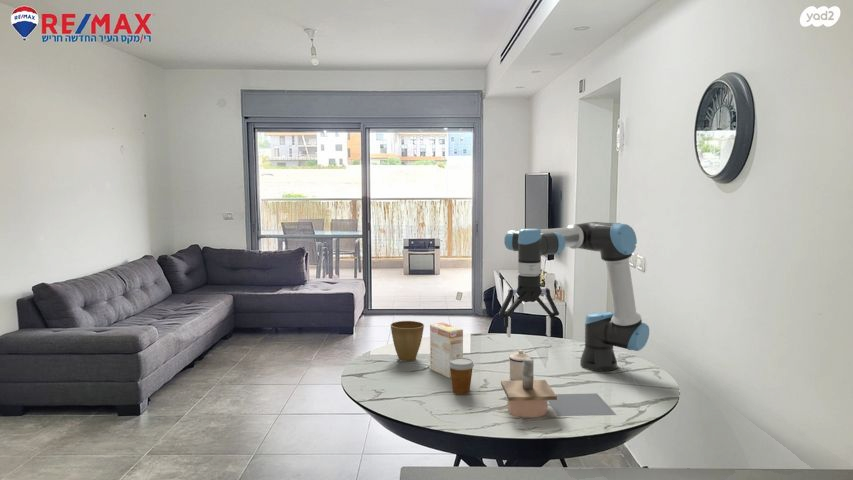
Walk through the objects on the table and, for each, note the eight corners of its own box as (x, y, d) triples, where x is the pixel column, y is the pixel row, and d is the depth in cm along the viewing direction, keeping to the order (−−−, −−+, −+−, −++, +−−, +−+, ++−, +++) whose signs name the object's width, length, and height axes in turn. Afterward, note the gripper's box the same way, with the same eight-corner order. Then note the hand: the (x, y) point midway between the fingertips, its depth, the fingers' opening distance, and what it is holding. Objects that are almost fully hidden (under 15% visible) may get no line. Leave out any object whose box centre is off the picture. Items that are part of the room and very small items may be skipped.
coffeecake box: (463, 375, 240) (463, 329, 238) (449, 379, 236) (449, 331, 234) (443, 366, 252) (443, 321, 250) (429, 369, 248) (429, 324, 247)
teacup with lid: (535, 381, 232) (536, 352, 231) (514, 383, 230) (514, 354, 229) (523, 371, 244) (523, 344, 243) (503, 373, 242) (503, 346, 241)
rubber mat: (596, 394, 217) (596, 393, 217) (616, 416, 197) (616, 414, 197) (543, 396, 216) (543, 394, 216) (557, 417, 197) (557, 415, 197)
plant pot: (412, 366, 252) (412, 330, 250) (384, 360, 260) (383, 325, 258) (430, 357, 265) (430, 322, 263) (403, 352, 272) (402, 318, 271)
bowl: (541, 403, 209) (541, 384, 208) (550, 418, 196) (551, 398, 195) (505, 404, 208) (505, 385, 208) (512, 419, 196) (512, 398, 195)
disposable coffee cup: (447, 387, 226) (447, 357, 224) (471, 387, 226) (471, 356, 225) (450, 396, 216) (450, 365, 215) (475, 395, 217) (475, 364, 216)
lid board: (545, 383, 210) (545, 352, 209) (556, 399, 194) (557, 366, 193) (500, 384, 209) (501, 353, 208) (508, 400, 193) (509, 367, 192)
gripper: (494, 276, 193) (493, 339, 195) (568, 275, 194) (567, 338, 196) (490, 273, 201) (490, 333, 203) (562, 272, 202) (561, 332, 204)
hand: (528, 336), depth 200 cm, fingers open, 13 cm apart
